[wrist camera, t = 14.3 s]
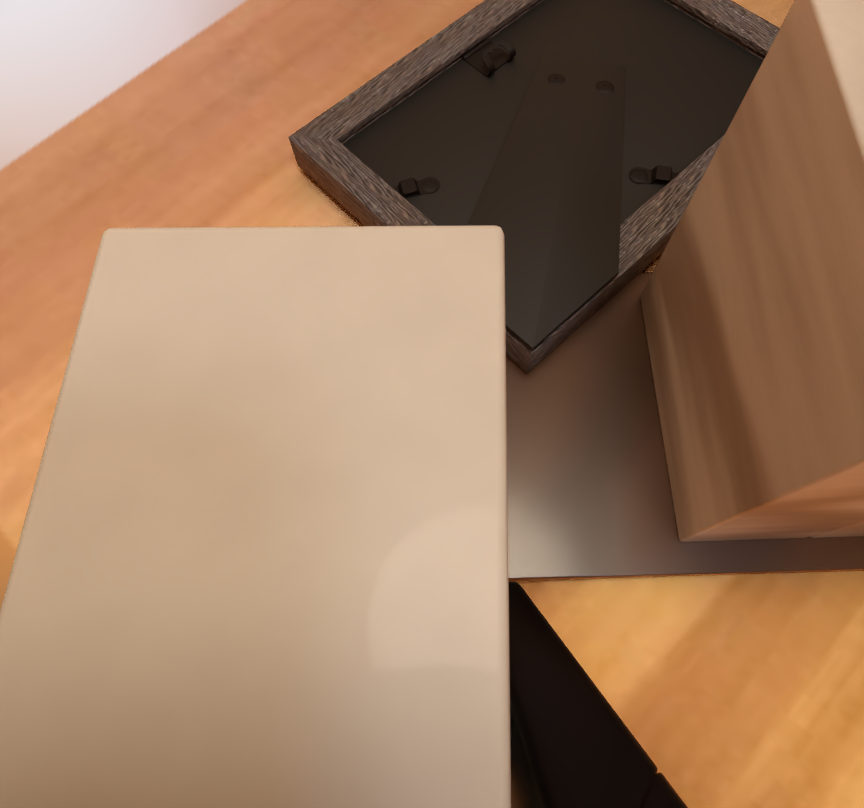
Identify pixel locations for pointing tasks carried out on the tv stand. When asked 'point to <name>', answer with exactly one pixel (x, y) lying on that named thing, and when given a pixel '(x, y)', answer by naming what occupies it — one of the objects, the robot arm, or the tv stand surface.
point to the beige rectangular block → (270, 530)
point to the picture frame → (546, 141)
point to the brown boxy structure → (720, 357)
